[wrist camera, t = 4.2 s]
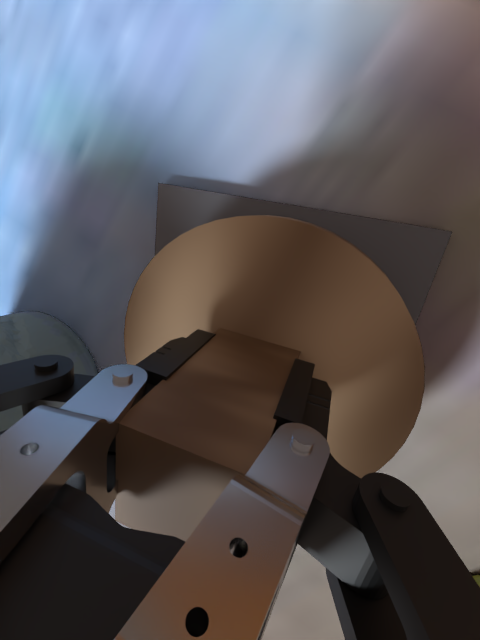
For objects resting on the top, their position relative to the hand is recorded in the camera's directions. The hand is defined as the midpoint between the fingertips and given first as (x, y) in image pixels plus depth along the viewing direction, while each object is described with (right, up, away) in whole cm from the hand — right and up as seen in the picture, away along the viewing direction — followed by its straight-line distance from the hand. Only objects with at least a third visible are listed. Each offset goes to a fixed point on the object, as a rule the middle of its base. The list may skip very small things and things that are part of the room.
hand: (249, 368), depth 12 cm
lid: (0, 0, +2) cm, 2 cm away
